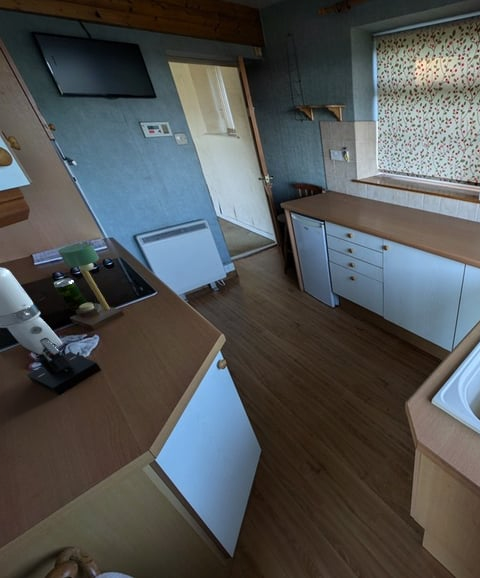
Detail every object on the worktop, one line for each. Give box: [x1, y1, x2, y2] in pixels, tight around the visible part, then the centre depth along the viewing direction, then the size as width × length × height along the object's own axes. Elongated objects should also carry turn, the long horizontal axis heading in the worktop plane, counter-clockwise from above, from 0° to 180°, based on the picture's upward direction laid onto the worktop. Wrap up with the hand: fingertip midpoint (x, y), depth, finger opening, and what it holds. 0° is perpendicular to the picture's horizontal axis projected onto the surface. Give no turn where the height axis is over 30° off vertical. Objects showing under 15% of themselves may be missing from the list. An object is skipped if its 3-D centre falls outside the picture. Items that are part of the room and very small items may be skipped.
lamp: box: [58, 242, 110, 311], centre depth 101 cm, size 8×8×25 cm
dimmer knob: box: [37, 352, 63, 372], centre depth 83 cm, size 4×4×5 cm
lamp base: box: [69, 302, 125, 331], centre depth 109 cm, size 13×10×4 cm
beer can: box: [53, 277, 88, 312], centre depth 113 cm, size 5×5×12 cm
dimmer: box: [26, 351, 102, 396], centre depth 85 cm, size 13×10×3 cm
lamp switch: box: [80, 301, 94, 311], centre depth 109 cm, size 4×4×2 cm
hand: (57, 365), depth 84 cm, fingers closed on dimmer knob, 4 cm apart
